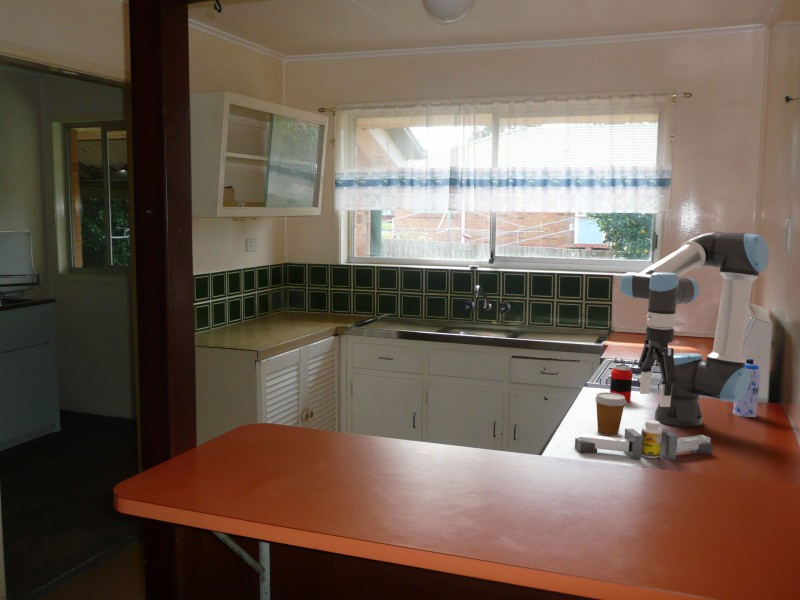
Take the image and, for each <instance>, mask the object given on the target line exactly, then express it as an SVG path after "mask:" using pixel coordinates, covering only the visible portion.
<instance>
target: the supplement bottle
mask: <svg viewBox="0 0 800 600" xmlns="http://www.w3.org/2000/svg"><path fill="white" fill-rule="evenodd" d="M660 423H661V422H659V421H658V420H656V419H655V420H653V419H646V420H645V422H644V426H643V427H641V435H642V436H643V440H642V452H641V457H644V458H647V459H658V458H659V457H660V456H661V454H660V448H661V437H662V430H661V429H662V428H661V427H660V426H661V424H660Z"/></svg>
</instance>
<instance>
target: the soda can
mask: <svg viewBox="0 0 800 600" xmlns="http://www.w3.org/2000/svg"><path fill="white" fill-rule="evenodd" d="M632 384H633V371H632V370H631V368H629V367H625V366H615V367H614V368H613V369H612V370H611V372H610V384H609V385H610V386H609V393H616V394H620V395H623V396H624V397H625V400H626V403H629V402H630V401H631V397H632V386H633V385H632Z"/></svg>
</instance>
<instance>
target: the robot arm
mask: <svg viewBox="0 0 800 600" xmlns="http://www.w3.org/2000/svg"><path fill="white" fill-rule="evenodd" d="M769 253H770V251H769V247H768V243H767V240H766V239H765V238H764V237H763V236H762V235H761V234H760V235H759V234H755V233H750V232H749V233H747V232H745V233H743V232H725V231H710V232H707V233H703V234H700V235H697V236H695V237H693V238H690V239H688V240H686V241H685V242H683V243H682V244H680V246H679V247H678V249H677V250H675V251H673V252H672V253H670V254H669V255H667V256H665V257H663V258H662V259H660V260H658V261H657V262H655V263H654V264H652V265H650V266H648V267H646V268H645V269H644V270H642V271H640V272H635V271H633V272H625V273H624V274H623V275H622V277H621V279H620V282H619V287H620V289H619V290H620V293H621V294H622V295H623V296H624V297H628V298H632V299H642V300H648V301H647V302H648V303H647V304H648V306H647V315H645V318H646V325H647V326H646V328H645V339H644V345H643V349H642V351H641V355H640V358H639V361H638V364H637V366H638V367H637V368H639V369H640V371H641V374H640V385H639V394H641V395H650V394H651V393H650V392H651V380H652V371H653V370H652V368H653V366H654V364H655V362H656V363H658V366H659V370H660V374H661V379H662V381H661V382H660V394H659V395H660V397H659V403H658V405H657V407H656V408H655V413H654V419H655V421H658V422H660V423H661V424H666V425H669V426H674V427H684V428H693V427H699V426H702V424H703V414H702V411H701V407H700V402H699V398H700V396H702V397H706V398H711V399H716V400H720V401H721V402H728V403H729V402H730V403H734V402H736V401H738V400H740V399H741V398H742V397H743V396H744V394H745V393H746V391H747V389H748V386H749V383H750V371H749V369H747V368H746V367H745V362H746V360H745V359H744V358H743V357H742V352H743V345H744V339H745V331H746V325H747V319H748V313H749V306H750V300H751V299H750V298H751V294H752V293H751V292H752V287H753V282H754V281H755V280H757V279H758V278H759V275H760V273H762V272H764V271H766V269H767V268H768V267H767V266H768V265H769V258H770V254H769ZM701 267H711V268H719V271H718V272H719V275H720V276H721V277H722V279H723V280H722V281H723V282H722V288H721V293H720V300H719V305H718V307H719V308H718V314H717V321H716V327H715V334H714V341H713V346H712V347H713V348H712V351H711V352H710V353H709V354H707V355H706V359H705V360H704V357H703V355H702V354H700V353H696V352H695V353H692V352H689V353H688V352H684V353H683V352H681V353H679V352H678V353H674V352H675V349H674V348H673V347H669V343H672V342H674V339H675V338H674V335H675V330H674V328H675V325H676V314H677V313H676V309H677V305H683V304H684V305H688V304H690V303H692V302H694V301H696V299H698V297H699V294H700V292H701V291H700V285H699V283H698V282H697V280H695V279H693V278H691V277H683V275H685V274H686V273H687V272H690V270H698V269H700V268H701ZM681 276H682V277H681Z"/></svg>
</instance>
